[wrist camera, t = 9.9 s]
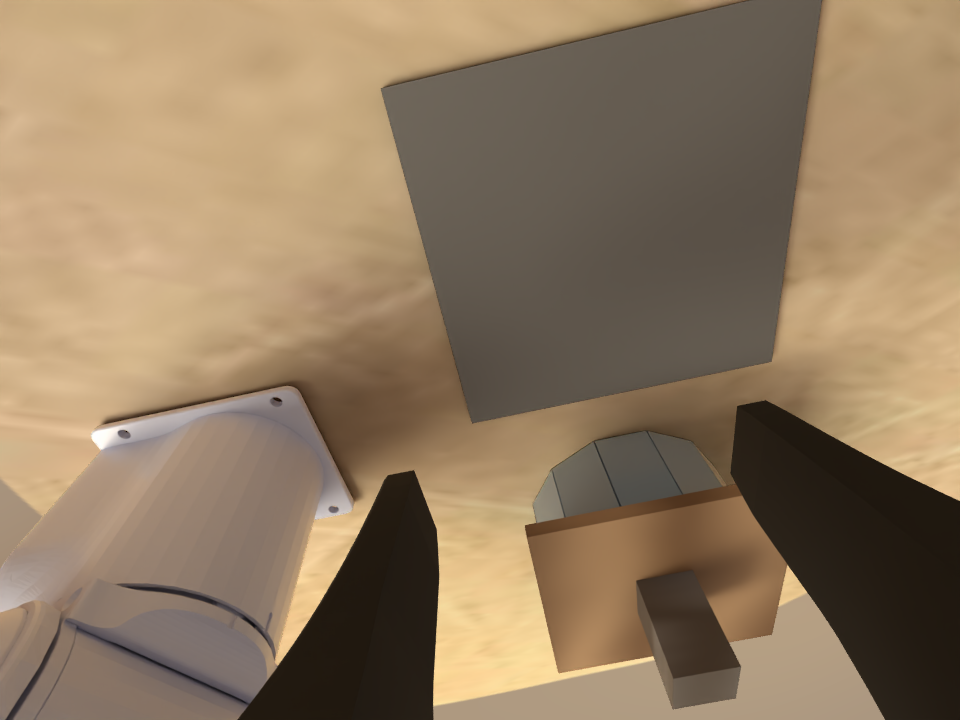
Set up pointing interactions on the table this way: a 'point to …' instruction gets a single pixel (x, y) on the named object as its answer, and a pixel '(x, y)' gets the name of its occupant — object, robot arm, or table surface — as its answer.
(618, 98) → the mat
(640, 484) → the bowl
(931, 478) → the table surface
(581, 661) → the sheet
